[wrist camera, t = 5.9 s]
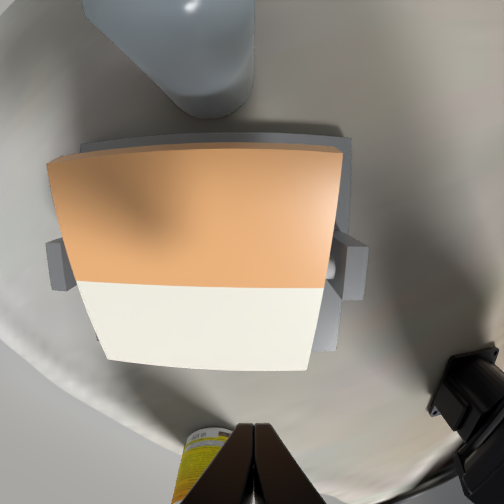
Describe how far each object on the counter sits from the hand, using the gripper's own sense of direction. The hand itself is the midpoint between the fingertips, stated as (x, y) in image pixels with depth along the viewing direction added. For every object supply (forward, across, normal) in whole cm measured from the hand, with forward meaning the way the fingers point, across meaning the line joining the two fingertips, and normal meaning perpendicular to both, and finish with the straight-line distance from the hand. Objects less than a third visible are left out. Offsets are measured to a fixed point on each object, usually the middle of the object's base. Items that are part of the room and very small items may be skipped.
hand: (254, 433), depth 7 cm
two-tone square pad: (+7, +3, -3) cm, 8 cm away
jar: (+12, +2, -13) cm, 17 cm away
